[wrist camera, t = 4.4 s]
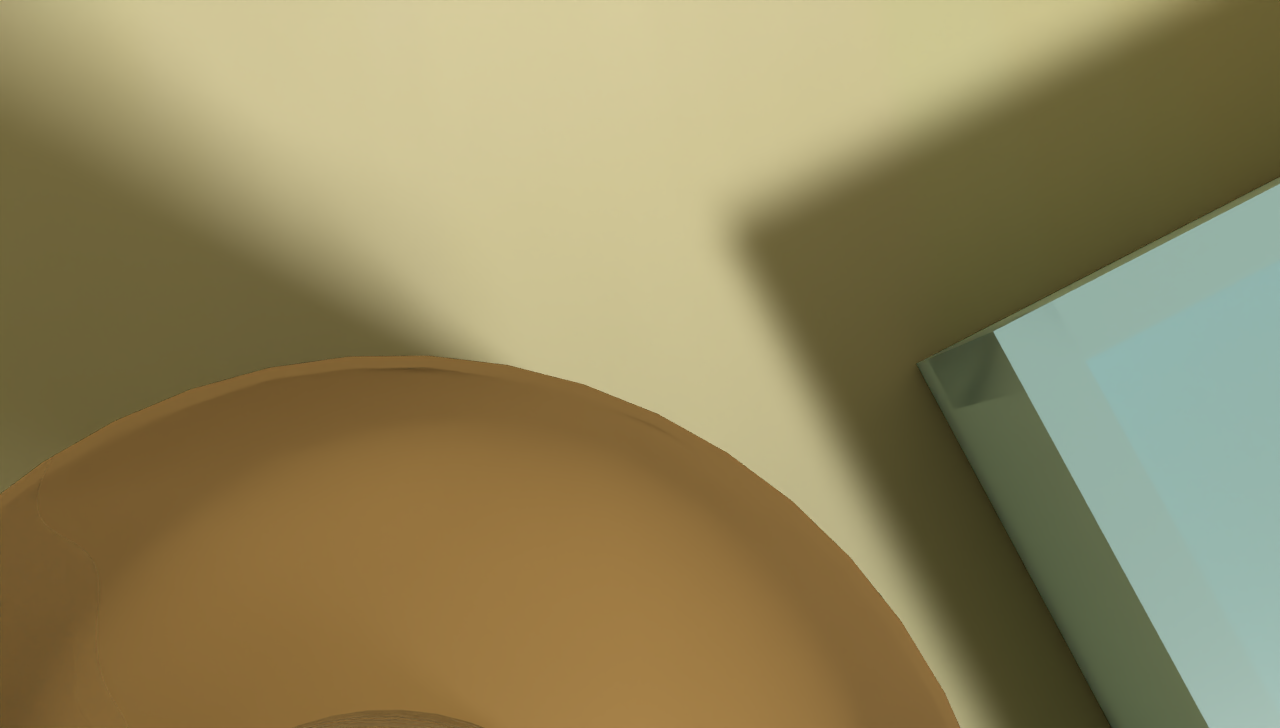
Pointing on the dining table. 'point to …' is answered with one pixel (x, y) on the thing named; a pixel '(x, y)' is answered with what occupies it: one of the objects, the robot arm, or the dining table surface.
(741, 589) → the cylinder
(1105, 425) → the tray
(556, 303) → the dining table surface
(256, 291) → the dining table surface
